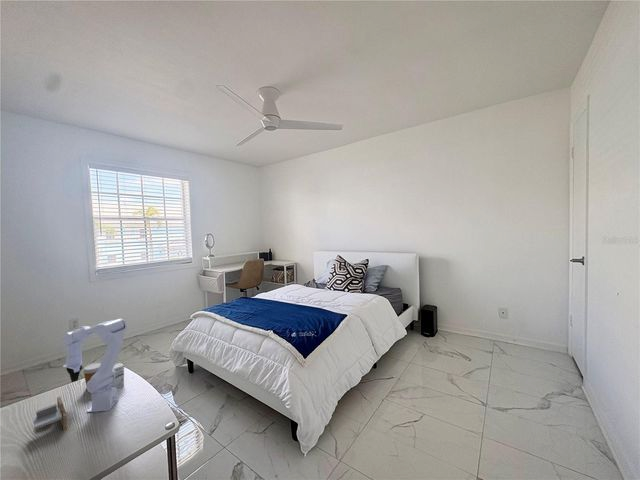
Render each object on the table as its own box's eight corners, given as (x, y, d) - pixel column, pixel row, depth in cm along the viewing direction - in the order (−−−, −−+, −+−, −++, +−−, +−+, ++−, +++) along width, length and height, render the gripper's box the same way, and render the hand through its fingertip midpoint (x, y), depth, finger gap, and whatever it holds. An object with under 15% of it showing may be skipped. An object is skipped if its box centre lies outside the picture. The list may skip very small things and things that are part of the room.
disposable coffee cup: (109, 384, 146) (109, 363, 145) (88, 393, 137) (88, 371, 137) (99, 380, 150) (99, 359, 149) (79, 389, 141) (78, 367, 141)
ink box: (105, 393, 138) (104, 371, 138) (102, 389, 141) (102, 368, 141) (124, 385, 145) (124, 364, 144) (121, 382, 148) (121, 361, 147)
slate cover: (32, 420, 111) (32, 411, 111) (59, 410, 117) (59, 401, 117) (34, 429, 106) (34, 420, 106) (61, 418, 112) (61, 409, 112)
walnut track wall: (57, 409, 125) (57, 397, 125) (60, 408, 126) (60, 396, 125) (63, 430, 112) (63, 416, 112) (66, 428, 113) (66, 415, 113)
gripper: (60, 352, 132) (61, 378, 132) (65, 362, 123) (65, 390, 123) (79, 348, 137) (79, 373, 138) (85, 356, 128) (85, 383, 129)
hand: (74, 380), depth 131 cm, fingers closed
